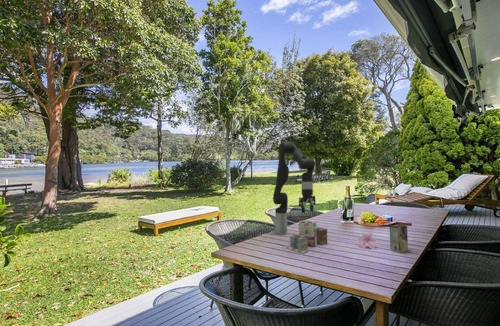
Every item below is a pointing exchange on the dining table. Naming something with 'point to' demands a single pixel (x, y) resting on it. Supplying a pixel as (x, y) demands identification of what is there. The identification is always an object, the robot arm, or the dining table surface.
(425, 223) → the dining table surface
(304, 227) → the candy bar box
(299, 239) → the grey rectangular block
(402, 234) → the coffee box
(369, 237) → the lily
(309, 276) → the dining table surface
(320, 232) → the walnut bookend
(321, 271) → the dining table surface
